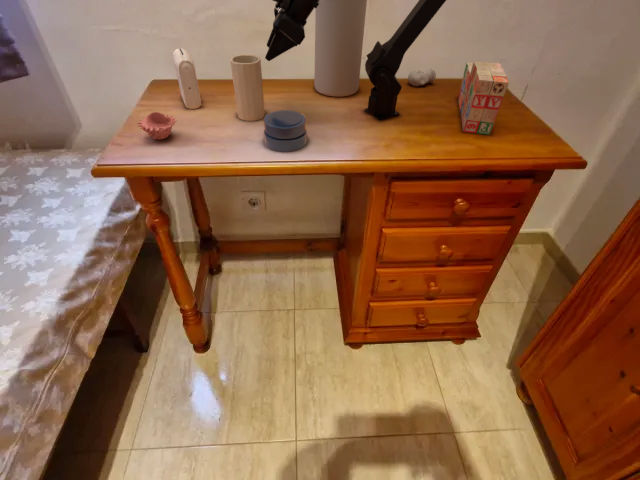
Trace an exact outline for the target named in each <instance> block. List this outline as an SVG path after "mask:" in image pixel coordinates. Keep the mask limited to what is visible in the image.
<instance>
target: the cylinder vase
mask: <svg viewBox="0 0 640 480" xmlns="http://www.w3.org/2000/svg"><path fill="white" fill-rule="evenodd" d="M367 2H368V0H319V2H318V3H319V5H318V7H317V8H314V10H315V11H314V12H315V15H314V17H315V19H314V73H313V74H314V75H313V77H314V83H313V86H314V89H315V91H316V92H317V93H319V94H321V95H323V96H326V97H334V98H342V97H349V96H351V95H354V94H356V93H357V92H358V90H359V88H360V80H361V79H360V77H361V66H362V56H363V47H364V36H365V35H364V34H365V24H366V16H367V15H366V13H367V4H368V3H367Z"/></svg>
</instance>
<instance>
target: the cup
mask: <svg viewBox="0 0 640 480" xmlns="http://www.w3.org/2000/svg"><path fill="white" fill-rule="evenodd" d="M230 67H231V75H232V83H233V84H232V85H233V92H234V100H235V106H236V107H235V108H236V114H237V118H238V119H240V120H243V121H247V122H252V121H253V122H255V121H259V120H262V119H264V118H265V116H266V113H265V111H266V110H265V98H264V87H263V85H264V84H263V73H262V72H263V71H262V59H261V57H260V56H259V55H255V54H238V55H234V56H231V57H230Z"/></svg>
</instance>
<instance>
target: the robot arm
mask: <svg viewBox="0 0 640 480" xmlns="http://www.w3.org/2000/svg"><path fill="white" fill-rule="evenodd" d="M272 1H273V2H276V3H275V4H274V8H273V14H274V20H273V22H272V29H271V32H270V34H269V37H268V40H267V42H266V47H267V48H268V49H267V52H266V54H265V57H264V59H265V60H267V61H268V62H270V61H273V60H275V58H277V57H279V56H281V55H282V54H285V53H286V52H288V51H290V50H291V49H293V48H295V47H297V46H300V45H301V44H302V43H303V41H304V40H305V39H306V33H305V26H306V25H307V20H308V18H309V17H310V15H311V14H312V12H313V11H314V10H315V8H317V7H318V5H319V3H318V2H319V0H272ZM446 1H447V0H417V3H415V5H414V6H413V8H412V9H411V10H410V12H409V13H408V15H407V16H406V17H405V18H404V20H403V21H402V22H401V24H400V25H399V27H398V28H397V30H395V32H394V33H393V35H391V36H390V38H389V39H388V40H387V41H386V42H384V43H381V42H380V40H378V41H376V43H375V45H374V46H373V48H372V50H371V51H370V52H369V53H368V54H366V60H365V63H364V69H365V73H366V75H367V77H368V79H369V81H370V83H371V84H372V85H373V87H372V88H370V94H369V96H368V101H367V107H366V108H364V112H365V113H367V114H368V115H370V116H372V118H375V119H377V120H378V121H384V120H387V119H390V118H391V119H392V118H394V117H398V116H400V112H398V110H396V108H397V103H398V96H399V94H400V93H401V91H402V88H403V86H402V84H401V83H400V81H399V80H398V78H397V76H396V75H397V73H398V71H399V69H400V67H401V64H402V62H403V59H404V56H405V54H406V52H407V51H408V50H409V49H410V47H411V46H412V45H413V43H415V42H416V39H417V38H418V37H419V36H420V34H421V33H422V32H423V31H424V29H426V28H427V26H428V24H429V23H430V22H431V20H432V19H434V17H435V15H437V13H438V12H439V10H440V9H441V8H442V7H443V5H444V4H445V3H446Z"/></svg>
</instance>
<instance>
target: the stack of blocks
mask: <svg viewBox="0 0 640 480" xmlns="http://www.w3.org/2000/svg"><path fill="white" fill-rule="evenodd" d="M509 85H510V81H509V80H508V76H507V74H506V72H505V70H504V68H503V66H502V65H501V63H498V62H487V61H486V62H485V61H473V62H466V64H465V66H464V71H463V76H462V80H461V84H460V89H459V92H458V95H457V99H458V108H459V113H460V117H461V127H462V132H463V133H469V134H479V135H487V136H490V134H491V132H492V130H493V127H494V126H495V121H496V118H497V117H498V113H499V110H500V108H501V106H502V103H503V101H504V97H505V94H506V92H507V89H508V87H509Z"/></svg>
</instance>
